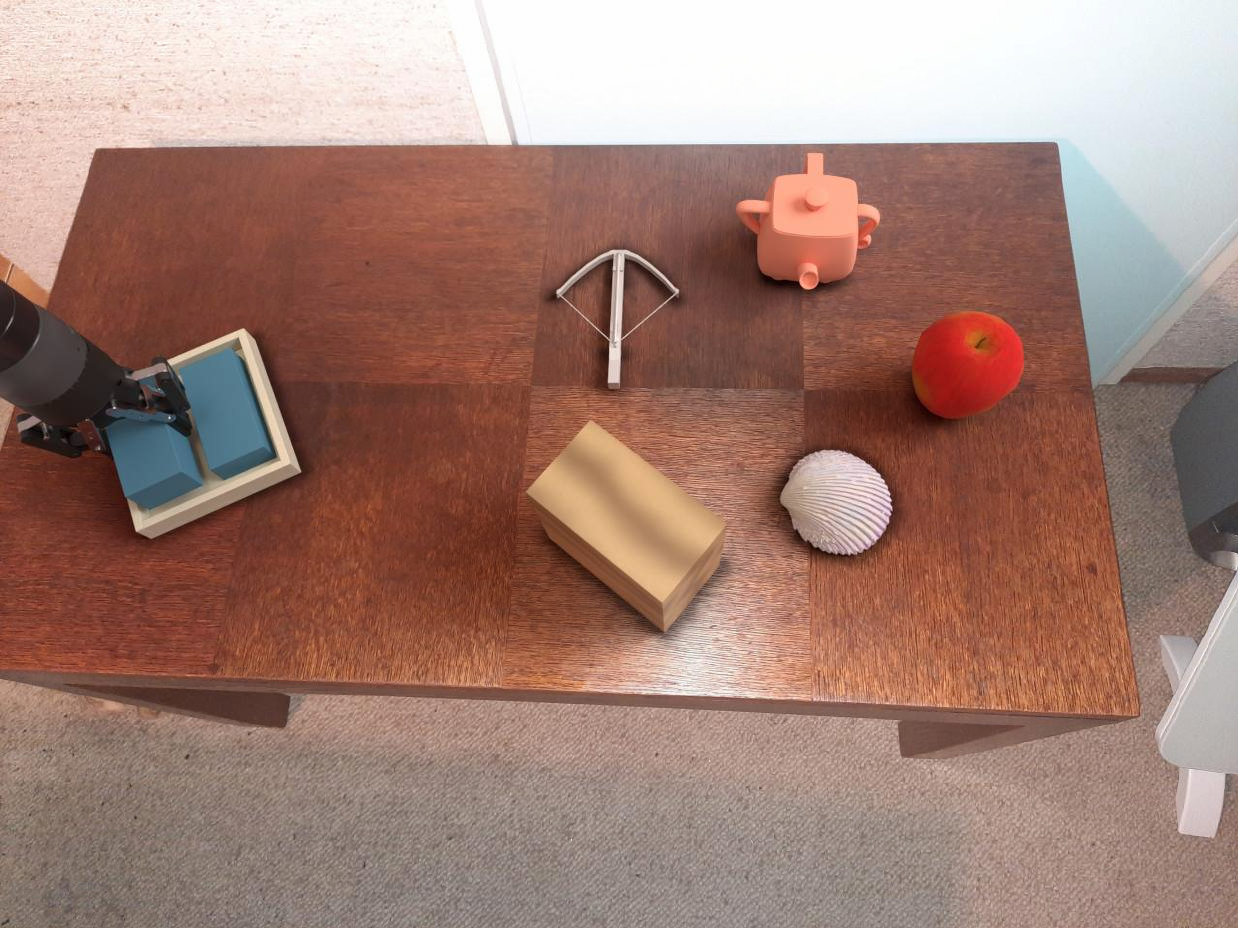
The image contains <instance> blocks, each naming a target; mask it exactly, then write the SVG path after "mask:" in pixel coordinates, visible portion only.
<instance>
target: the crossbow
mask: <svg viewBox="0 0 1238 928" xmlns="http://www.w3.org/2000/svg"><path fill="white" fill-rule="evenodd" d="M609 260H613V263H612V265H613V266H612V285H611V304H610V305H611V306H610V307H611V308H610V327H609V337H607V335H605V334H604V333H603V332H602V331H601V330H600V329H599V328H598V327H596V326H595V325H594V324H593V323H592V322H591V321H590V320H589V319H588V318H587V317H586V316H585V315H583V314H582V313H581V312H580V311H579V310H578V309H577V308H576V307H575V306H574V305H572V304H571V303H570V302H569V301H568V300H567V299H566V298H565V297H564V296H563V295H564V294H565V293H566V292H567V291H568V290H569V288H570V287H572V286H573V285H574V284H575V283H576V282H577V281H578V280H580V279H581V278H582V277H584V276H585V275H586V274H588V273H589V272H590V271H591V270H593V269H594V268H596V267H597V266H598V265H600V264H602V263H604V262H607V261H609ZM625 260H628V261H629V260H630V261H633V262H635V263H637V264H639V265H640V266H642V267H643V268H644V269H646V270H647V271H649V272H650V273H651V274H652V275H654V277H656V278H657V279H658V280H659V281H660V282H661V283H663V284H664V286H666V287H667V288H668V290H669V291H670V292H672V294H673V295H672V296H670V297H669V298H668V299H667V300H666V301H665V302H663V303H662V304H661V305H659V306H658V307H657V308H656V309H655V310H654V311H653V312H652V313H650V314H649V315H648V316H646V317H645V319H643V320H641V322H640V323H638V324H637V325H636V326H635V327H634V328H632V329H631V330H630V331H629V332H628V333H627V334H626V335H625V336H623V337H622V330H623V308H624V307H623V306H624V285H625V284H624V281H625ZM679 293H680V289H678V288H677V287H675V286H674V285H673V283H672V282H670V280H668V278H667V277H666V276H665V275H664V274H663V273H662V272H661V271H659V270H658V269H657V268H656V267H655V266H654V265H653V264H651V263H650V262H649V261H647V260H646V259H644V257H641V256H640V255H638V254H636V253H634V252H631V251H630V250H628V249H611V250H609V251H607V252H604V253H602V254H599V256H597V257H595V258H594V259H592V260H591V261H590V262H588V263H586V264H585V265H584V266H583V267H582V268H580V269H579V270H578V271H577V272H576V273H574V274H573V275H572V276H571V277H570V278H569V279H568V280H567V281H566V282H565V283H564V284H563V285H562V286H561V287H560V288H558V289H557V290H556V298H557V299H559V298H561V299H563V300H564V301H565V302H566V303H567V304H568V305H570V307H571V308H572V309H574V311H576V312H577V313H578V314H579V315H580V316H581V317H583V318H584V320H586V321H587V322H588V323H589V324H590V325H591V326H592V327H593V328H595V329H596V330H597V332H599V333H600V334H601V335H602V336H603V337H604V338H606V339H607V340H608V341H609V345H608V346H609V348H608V349H609V351H608V353H609V354H608V371H607V372H608V375H607V387H608V390H620V389H621V363H622V362H621V359H622V358H621V357H622V340H624V339H625V338H626V337H627V336H629V335H630V334H631V333H632V332H633V331H634V330H636V329H637V328H638V327H639V326H640V325H642V324H643V323H644V322H645V321H646V320H648V319H649V318H650V317H652V315H654V314H655V313H656V312H657V311H659V309H660V308H662V307H663V306H664V305H665V304H667V303H668V302H669V301H670V300H671V299H673V298H674V297H676V298H679V295H680V294H679Z"/></svg>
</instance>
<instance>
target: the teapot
mask: <svg viewBox="0 0 1238 928" xmlns="http://www.w3.org/2000/svg"><path fill="white" fill-rule="evenodd" d="M804 163H805V164H804V167H803V171H802V173H800V174H799V173H798V174H796V173H795V174H784V175H779V176H778V177H777V176H776V178H775V179H774V180H773V181H772V182H771V185H770V186H769V188H768V190H767V191H766V194H765V197H764V198H763V200H757V199H746V200H742V201H739V202H738V203H737V204H736V206H735V213H736V216H737V218H738V219H739V221H741V223H742V224H743V225H744V226H746V227H747V228H748V229H749V230H750V231H752V232H753V233H754V234H756V235H757V241H756V249H757V250H756V253H757V264H758V268H759V270H760V271H761V273H762V274H763V275H765V276H767V277H770V278H772V279H773V280H776V281H783V280H786V281H793V282H799V285H800V286H801V288H803V289H804V290H812V289H815V288H816V287H817V285H818V284H819V283H823V284H828V283H830V282H835V281H840V280H842V279H844V278H846V277H848V276H849V275H850V274H851V273H852V272H853V269H854V266H855V263H856V259H857V251H858V250H863V249H866V248H868V247H869V246H870V244H871V243H872V237H871V234H872V233H873V232H874V231H875V230H876V229H877V228H878V226H879V224H880V220H881V215H880V212H879V210H878V209H877V208H876V207H874V206H873V205H870V204H866V203H859V199H858V187H857V183H856V181H855V180H853V179H851V178H848V177H847V178H846V177H842V176H837V175H827V174H824V153H819V152H808V153H807V154H806V159H805V162H804ZM753 214H760V215H759V220H757V219H756V218H755V216H754V215H753ZM859 217H863V218H868V219H870V220H868V221H867V222H866V223H864V224H863V225H862V226H861V227H860V220H859V219H860V218H859Z"/></svg>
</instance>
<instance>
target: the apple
mask: <svg viewBox="0 0 1238 928" xmlns="http://www.w3.org/2000/svg"><path fill="white" fill-rule="evenodd" d="M1024 368H1025V355H1024V347H1023V341H1022V339H1021V338H1020V336H1019V335H1018V334H1017V332H1016V331H1015V329H1014V328H1013V327H1012V326H1011V325H1010V324H1008V323H1007V322H1006V321H1004V320H1003V319H1001V318H1000V317H999V316H996V315H993V314H989V313H986V312H983V311H975V310H974V311H973V310H961V311H958V312H957V311H956V312H954V313H951V314H948V315H945V316H942V317H941V318H939V319H937V320H935V321H934V322H933V323H932V324H930V325H929V326H928V327H927V328H926V329H924V330H923V331H922V332H921V333H920V336H919V338H918V341H917V344H916V347H915V349H914V352H913V356H912V360H911V376H912V377H911V379H912V384H913V389H914V393H915V395H916V396H917V399H918V400H919V402H920V403H921V404H922V406H924V407H925V408H926V409H927V410H928V411H929V412H930V413H932V414H934V415H936V416H937V417H940V418H942V419H949V420H961V419H965V418H968V417H972V416H975V415H977V414H981V413H985V412H988V411H990V410H991V409H992V408H993V407H995V406H996V405H997V404H998V403H999V402H1000V401H1002V400H1003V399H1004V398H1005V397H1007V396H1008V395H1009V394H1010V393H1011V392H1013V391H1014V390H1015V389H1016V388H1017V386H1018V384H1019V382H1020V379H1021V377H1022V375H1023V373H1024V370H1025V369H1024Z"/></svg>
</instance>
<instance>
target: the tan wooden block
mask: <svg viewBox="0 0 1238 928" xmlns="http://www.w3.org/2000/svg"><path fill="white" fill-rule="evenodd" d="M525 494H526V497H527V498H528V500H529V502H530V505H531V506H532V508H533V509H534V511H535V513H536V515H537V517H538V519H539V521H540V522H541V525H542V527H543V528H544V531H545V533H546V534H547V536H548V538H549V539H550V541H552V542H553V543H554V544H556V545H557V546H558V547H559V548H561V549H562V550H563V551H564V552H566V553H567V554H568V555H569V556H570V557H571V558H573V559H574V560H575V561H576V562H578V564H580V565H581V566H582V567H583V568H585V569H586V570H587V571H588V572H590V573H592V575H593V576H595V578H597V579H598V580H599V581H601V582H602V583H603V584H604V585H606V586H607V587H608V588H609V589H611V591H613V592H614V593H615V594H616V595H617V596H618V597H620V598H621V599H623V600H624V601H625V603H627V604H628V605H630V606H631V607H632V608H633V609H635V610H636V611H637V612H638V613H639V614H640V615H642V616H643V617H644V618H646V619H647V620H648V621H649V622H650V623H652V624H653V625H654V626H655V627H657V629H659V630H660V631H662V632H663V633H666V632H667V631H668V630H669V629H670V628H671V626H672V625H673V624H674V623H675V621H676V620H677V619H678V618H679V616H680V615H681V614H682V612H684V610H685V609H686V608H687V607H688V606H689V604H690V603H691V602H692V600H693V599H694V598H695V597H696V595H697V594H698V593H699V592H700V591H701V589H702V588H703V587H704V586H705V584H707V582H708V581H709V579H710V578H711V577H712V576H713V575H714V573H715V572H716V571H717V570H718V568H719V567H720V564H721V559H722V553H723V550H724V549H723V548H724V543H725V538H726V533H727V528H728V523H727V522H726V521H725V520H724V519H723V518H722V517H720V516H718V515H717V514H716V513H715V512H713V511H712V510H711V509H709V508H708V507H707V506H705V505H704V504H703V503H701V502H700V501H699V500H698V499H696V498H695V497H694V496H693V495H691V494H690V493H688V492H687V491H686V490H684V489H683V488H682V487H681V486H679V485H678V484H676V483H675V482H673V481H672V480H671V479H670V478H668V477H667V476H666V475H664V473H662V472H660V471H659V470H658V469H657V468H655V467H654V466H653V465H651V464H650V463H648V462H647V461H646V460H645V459H643V458H642V457H641V456H639V454H637V453H636V452H634V451H633V450H632V449H631V448H629V447H628V446H627V445H625V444H624V443H623V442H621V441H620V440H618V439H617V437H614V436H613V435H612V434H611V433H609V432H608V431H606V430H605V429H604V428H602V427H601V425H599V424H598V423H596V422H595V421H594V420H592V419H590V420H588V421H587V423H585V425H584V426H583V427H582V429H580V430H579V431H578V433H577V434H576V435H575V436H574V437H573V438H572V440H571V441H570V442H569V443H568V444H567V445H566V446H565V447H564V448H563V449H562V451H560V453H559V454H558V455H557V456H556V457H555V458H554V459H553V460H552V462H551V463H550V464H549V465H548V466H547V467H546V468H545V470H543V472H541V474H540V475H539V476H538V477H537V478H536V479H535V480H534V482H532V484H531V485H529V487H528V488H527V489H526V491H525Z"/></svg>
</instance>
